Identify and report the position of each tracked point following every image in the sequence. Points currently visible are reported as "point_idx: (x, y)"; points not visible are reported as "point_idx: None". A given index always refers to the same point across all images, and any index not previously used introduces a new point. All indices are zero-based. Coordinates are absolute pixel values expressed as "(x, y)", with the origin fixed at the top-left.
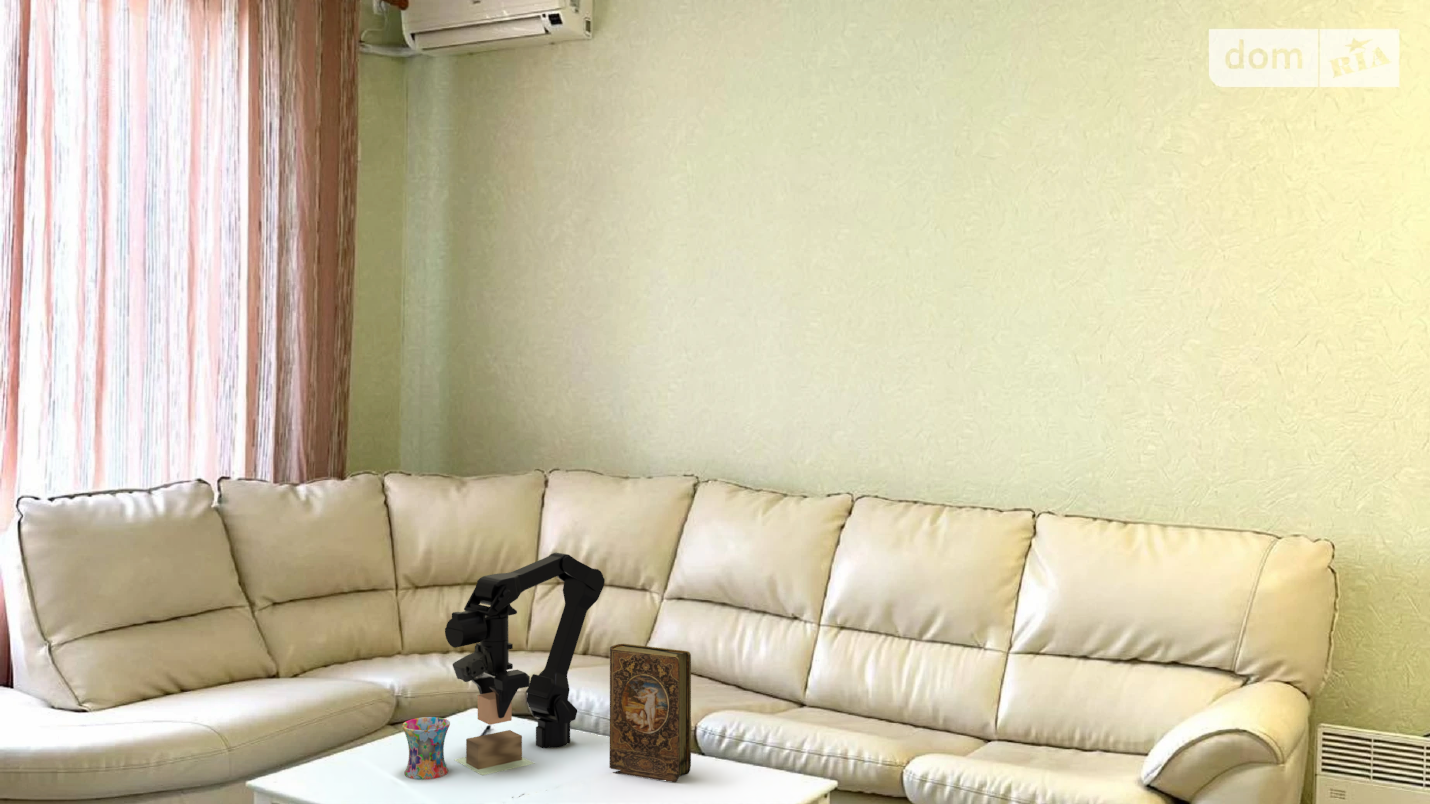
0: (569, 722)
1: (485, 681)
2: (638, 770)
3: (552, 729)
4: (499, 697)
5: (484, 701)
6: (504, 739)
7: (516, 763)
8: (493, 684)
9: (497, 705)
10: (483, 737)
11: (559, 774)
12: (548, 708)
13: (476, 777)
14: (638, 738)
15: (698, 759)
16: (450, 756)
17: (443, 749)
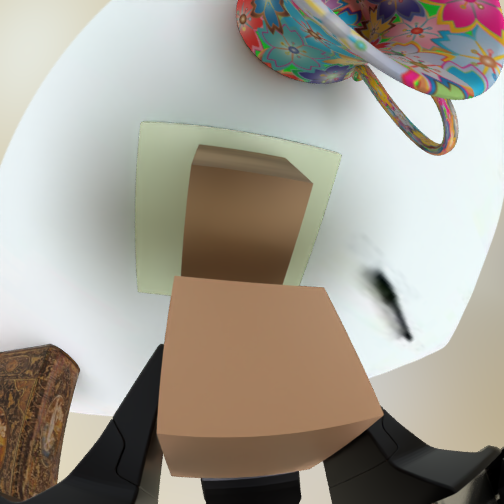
0: None
1: (381, 500)
2: (20, 356)
3: None
4: (80, 463)
5: (261, 406)
6: None
7: (166, 261)
8: (342, 491)
9: (143, 408)
10: (266, 245)
11: (69, 290)
12: None
13: (172, 116)
14: (4, 397)
15: (70, 408)
16: (383, 189)
17: (294, 34)
